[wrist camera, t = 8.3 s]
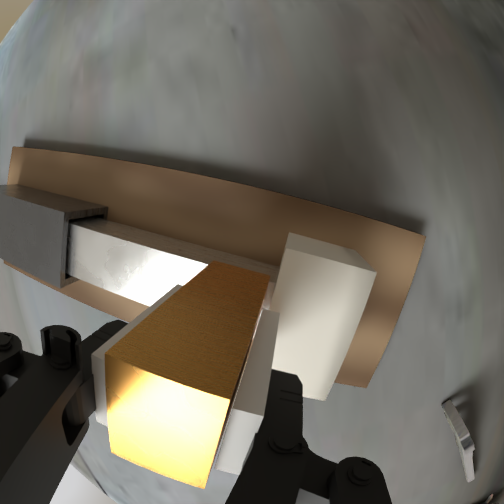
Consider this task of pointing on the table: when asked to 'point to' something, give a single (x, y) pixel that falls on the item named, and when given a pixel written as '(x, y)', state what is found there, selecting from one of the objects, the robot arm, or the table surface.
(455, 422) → the caliper
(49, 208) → the outer sleeve
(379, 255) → the base board
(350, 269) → the socket block
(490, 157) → the table surface
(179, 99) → the table surface
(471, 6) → the table surface
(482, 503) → the brake caliper
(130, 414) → the stacked block assembly
